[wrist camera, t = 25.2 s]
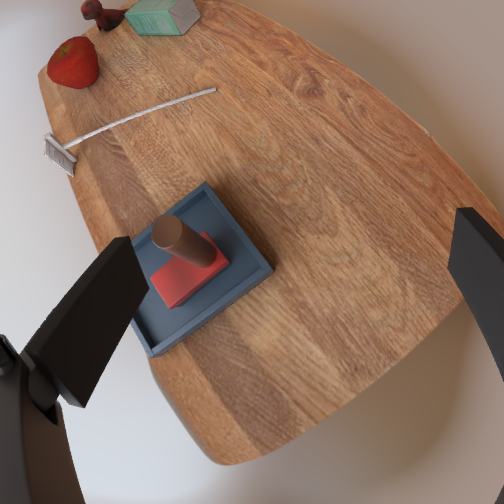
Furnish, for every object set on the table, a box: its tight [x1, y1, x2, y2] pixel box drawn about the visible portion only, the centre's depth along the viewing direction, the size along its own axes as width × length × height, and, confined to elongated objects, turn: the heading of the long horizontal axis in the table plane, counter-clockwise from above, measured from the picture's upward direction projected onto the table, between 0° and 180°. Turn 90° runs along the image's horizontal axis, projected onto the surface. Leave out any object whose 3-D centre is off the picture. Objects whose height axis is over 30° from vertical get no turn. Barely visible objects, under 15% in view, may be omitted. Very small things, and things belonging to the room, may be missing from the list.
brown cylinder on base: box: [150, 214, 231, 309], centre depth 31 cm, size 8×4×12 cm, turn 128°
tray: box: [130, 181, 275, 358], centre depth 37 cm, size 18×14×2 cm
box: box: [125, 0, 201, 35], centre depth 49 cm, size 7×14×8 cm, turn 62°
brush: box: [44, 87, 216, 177], centre depth 43 cm, size 4×28×9 cm, turn 107°
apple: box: [47, 36, 99, 89], centre depth 47 cm, size 11×11×12 cm
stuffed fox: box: [81, 0, 130, 31], centre depth 53 cm, size 8×11×12 cm
